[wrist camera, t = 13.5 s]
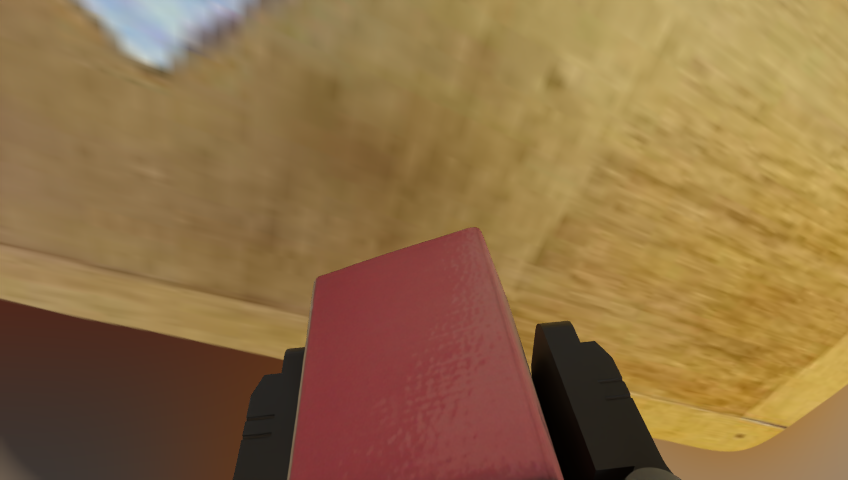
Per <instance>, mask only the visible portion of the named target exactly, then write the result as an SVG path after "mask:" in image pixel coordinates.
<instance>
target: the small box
mask: <svg viewBox="0 0 848 480" xmlns="http://www.w3.org/2000/svg"><path fill="white" fill-rule="evenodd" d="M287 480H564V478H563V475H562V472H561V469H560V465H559V462H558V459H557V456H556V453H555V450H554V446H553V443H552V440H551V437H550V434H549V430H548V427H547V424H546V421H545V418H544V415H543V411H542V408H541V405H540V402H539V399H538V395H537V392H536V389H535V386H534V382H533V379H532V376H531V373H530V370H529V366H528V363H527V360H526V357H525V353H524V350H523V347H522V344H521V341H520V338H519V335H518V332H517V329H516V325H515V322H514V319H513V316H512V313H511V310H510V307H509V304H508V301H507V298H506V295H505V292H504V290H503V287H502V285H501V282H500V279H499V277H498V274H497V272H496V269H495V266H494V264H493V261H492V258H491V256H490V253H489V250H488V248H487V245H486V242H485V240H484V237H483V235H482V232H481V231H480V230H479V228H476V227H473V228H467V229H464V230H461V231H458V232H454V233H451V234H449V235H445V236H442V237H439V238H435V239H432V240H429V241H425V242H422V243H419V244H416V245H412V246H410V247H406V248H403V249H400V250H397V251H394V252H390V253H387V254H384V255H381V256H378V257H375V258H372V259H370V260H366V261H363V262H361V263H357V264H354V265H352V266H348V267H346V268H343V269H341V270H338V271H334V272H331V273H329V274H325V275H322V276H319V277H318V278H316V280H315V282H314V286H313V293H312V300H311V308H310V314H309V322H308V330H307V339H306V346H305V352H304V359H303V367H302V375H301V382H300V389H299V397H298V405H297V412H296V420H295V427H294V434H293V441H292V448H291V456H290V463H289V470H288V477H287Z"/></svg>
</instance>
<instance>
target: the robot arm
mask: <svg viewBox="0 0 848 480" xmlns="http://www.w3.org/2000/svg"><path fill="white" fill-rule="evenodd" d="M304 352H305V347H302V348H292V349H287V350H286V352H285V356H284V361H283V368H282V373H279V374H270V375H264V377H263V378H262V380H261V381H260V383H259V384H258V386H257V387H256V389H255V390H254V392H253V393H252V395H251V398H250V403H249V408H248V412H247V421H246V422H245V426H244V431H243V440H242V441H241V445H240V449H239V454H238V459H237V464H236V468H235V473H234V477H233V480H287V477H288V470H289V463H290V456H291V448H292V441H293V434H294V427H295V420H296V412H297V405H298V397H299V389H300V382H301V375H302V367H303V359H304ZM531 373H532V379H533V382H534V386H535V389H536V392H537V395H538V399H539V402H540V405H541V408H542V411H543V415H544V418H545V421H546V424H547V427H548V430H549V434H550V437H551V440H552V443H553V446H554V450H555V453H556V456H557V459H558V462H559V465H560V469H561V472H562V475H563V478H564V480H681V479H680V478H679V477H677V476H675V475H674V474H673V473H672V472H671V471H670V470H669V468H668V467H667V466H666V464H665V462H664V461H663V459H662V457H661V455H660V453H659V451H658V449H657V447H656V445H655V443H654V441H653V439H652V437H651V435H650V433H649V431H648V429H647V427H646V425H645V423H644V421H643V419H642V417H641V415H640V413H639V411H638V409H637V407H636V405H635V403H634V401H633V399H632V398H631V397H630V392H629V390H628V388H627V386H626V384H625V382H623V381H622V376H621V374H620V372H619V370H618V368H617V366H616V364H615V362H614V360H613V358H612V357H611V356H610V355H609V354H608V353H607V352H606V351H605V350H604V349H603V348H602V347H601V346H599V345H598V344H597V343H596V342H595V341H591V342H582V343H580V341H579V338H578V336H577V334H576V332H575V329H574V327H573V325H572V324H571V322H570V321H561V322H551V323H541V324H537V326H536V330H535V338H534V347H533V355H532V363H531Z"/></svg>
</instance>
